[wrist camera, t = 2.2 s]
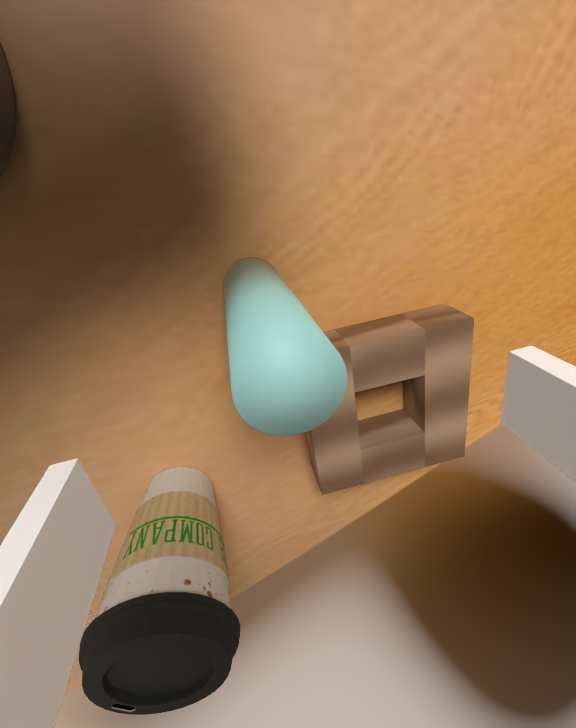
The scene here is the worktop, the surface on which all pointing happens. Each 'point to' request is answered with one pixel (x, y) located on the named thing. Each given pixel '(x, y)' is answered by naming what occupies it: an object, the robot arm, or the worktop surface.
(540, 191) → the worktop surface
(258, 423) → the peg
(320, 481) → the socket block
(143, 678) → the coffee cup
